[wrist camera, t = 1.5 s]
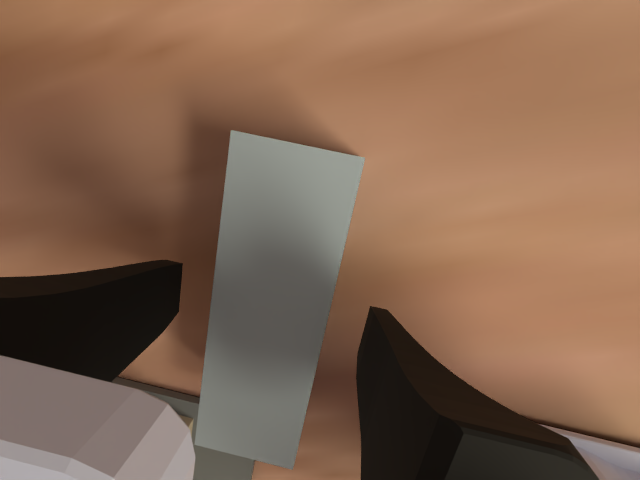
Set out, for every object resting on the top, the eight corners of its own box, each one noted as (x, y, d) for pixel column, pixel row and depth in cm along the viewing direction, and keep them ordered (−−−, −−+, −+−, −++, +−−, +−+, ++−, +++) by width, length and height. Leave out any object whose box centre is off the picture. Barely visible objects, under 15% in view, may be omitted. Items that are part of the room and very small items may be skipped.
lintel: (266, 137, 13) (231, 130, 9) (361, 157, 13) (364, 157, 9) (231, 376, 16) (194, 444, 12) (307, 395, 16) (292, 469, 12)
